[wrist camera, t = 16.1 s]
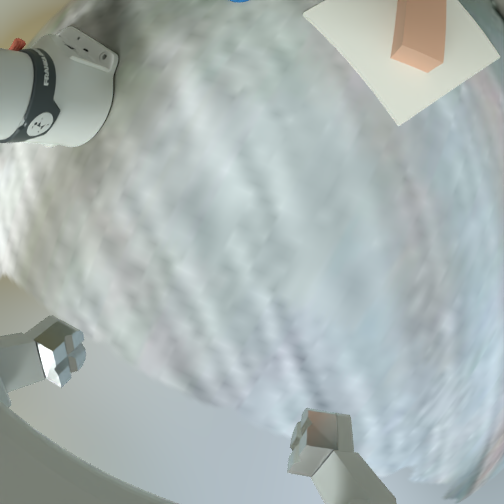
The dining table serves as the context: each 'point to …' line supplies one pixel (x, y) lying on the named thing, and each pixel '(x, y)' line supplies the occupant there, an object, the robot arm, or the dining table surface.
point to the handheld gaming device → (239, 0)
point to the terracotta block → (420, 33)
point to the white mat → (392, 71)
